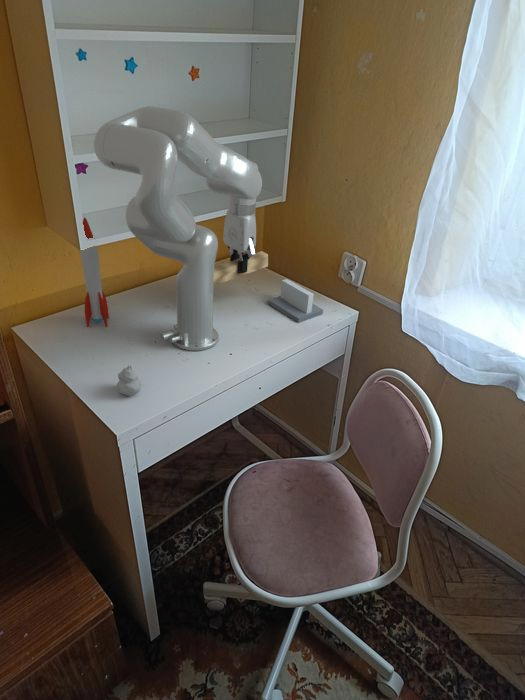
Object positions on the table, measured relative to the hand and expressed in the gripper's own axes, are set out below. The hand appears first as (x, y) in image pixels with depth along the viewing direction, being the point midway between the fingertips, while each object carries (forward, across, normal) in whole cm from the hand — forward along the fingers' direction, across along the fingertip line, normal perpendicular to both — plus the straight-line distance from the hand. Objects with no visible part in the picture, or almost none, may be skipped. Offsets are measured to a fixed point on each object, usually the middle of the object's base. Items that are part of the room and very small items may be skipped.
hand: (238, 269), depth 148 cm
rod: (+1, 0, 0) cm, 1 cm away
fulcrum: (+12, +12, +14) cm, 22 cm away
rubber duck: (+14, +20, -46) cm, 52 cm away
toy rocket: (+13, -12, -39) cm, 43 cm away
